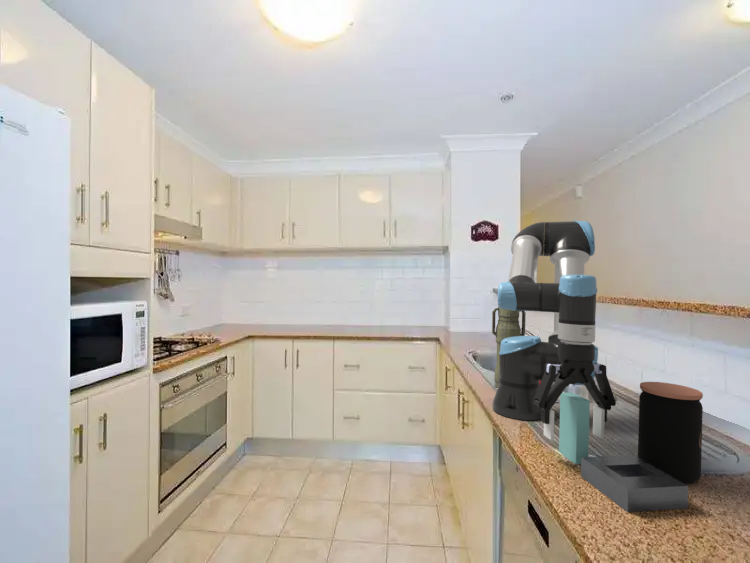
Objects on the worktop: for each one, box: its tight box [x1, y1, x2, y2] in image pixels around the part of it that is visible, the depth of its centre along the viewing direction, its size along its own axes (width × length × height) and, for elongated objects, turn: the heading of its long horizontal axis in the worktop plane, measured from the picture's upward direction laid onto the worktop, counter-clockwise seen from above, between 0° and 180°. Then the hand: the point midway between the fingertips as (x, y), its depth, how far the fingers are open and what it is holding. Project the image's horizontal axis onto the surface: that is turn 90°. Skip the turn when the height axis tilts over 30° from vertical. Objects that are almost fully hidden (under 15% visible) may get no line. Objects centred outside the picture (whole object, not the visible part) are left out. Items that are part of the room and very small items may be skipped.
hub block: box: [580, 454, 689, 513], centre depth 72 cm, size 12×12×4 cm
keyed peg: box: [558, 392, 591, 465], centre depth 86 cm, size 6×3×14 cm, turn 8°
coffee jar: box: [637, 381, 704, 485], centre depth 80 cm, size 11×11×18 cm
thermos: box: [491, 305, 526, 389], centre depth 142 cm, size 9×12×35 cm
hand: (573, 436), depth 86 cm, fingers open, 12 cm apart
